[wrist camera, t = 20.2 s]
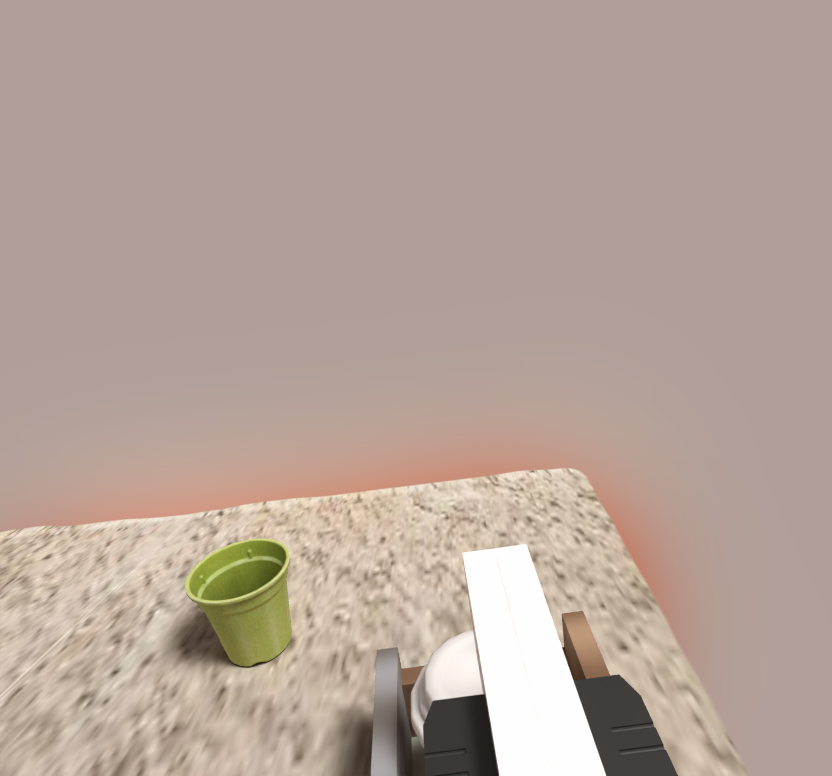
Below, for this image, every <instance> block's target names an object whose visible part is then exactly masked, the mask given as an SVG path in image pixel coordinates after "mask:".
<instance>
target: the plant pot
mask: <svg viewBox="0 0 832 776" xmlns="http://www.w3.org/2000/svg"><path fill="white" fill-rule="evenodd" d="M289 562H290V553H289V550H288V548H287V547H286V546H285V545H284V544H283V543H281V542H279V541H276V540H273V539H261V538H258V539H250V540H244V541H240V542H237V543H233V544H231V545H228V546H226V547H223V548H221V549H219V550H217V551H215V552H213V553H212V554H210V555H209V556H207V557H206V558H204V559H203V560H202V561H200V562H199V563H198V564H197V565H196V566H195V567H194V568H193V569H192V571H191V572H190V573H189V575H188V577H187V579H186V582H185V591H186V594H187V595H188V597H189V598H190V599H191V600H192V601H194V602H196V603H197V605H198V606H199V608H200V609H201V610H203V611H204V612H205V614H206V616H207V618H208V619H209V621H210V623H211V625H212V627H213V629H214V630H215V632H216V634H217V636H218V638H219V640H220V642H221V644H222V646H223V648H224V650H225V651H226V653H227V655H228V657H229V659H230V660H231V661H232V662H233V663H235V664H237V665H240V666H252V665H253V664H255V663H258V662H266V661H270V660H271V659H273V658H275V657H276V656H278V655H279V654H280V653H281V652H282V651H283V650H284V649H285V648H286V647H287V645H288V644H289V642H290V639H291V632H292V630H291V619H290V611H289V602H288V592H287V581H286V578H287V574H288V565H289Z"/></svg>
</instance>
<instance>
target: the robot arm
mask: <svg viewBox="0 0 832 776" xmlns="http://www.w3.org/2000/svg"><path fill="white" fill-rule="evenodd" d="M463 560H464V568H465V575H466V582H467V589H468V597H469V604H470V611H471V618H472V626H473V633H474V640H475V647H476V653H477V660H478V666H479V672H480V678H481V684H482V691H483V694H480V695H472V696H465V697H457V698H449V699H442V700H434V701H433V702H432V704H431V707H430V709H429V712H428V714H427V717H426V719H425V722H424V724H423V739H424V757H425V759H424V763H425V776H678V775H677V773H676V771H675V769H674V766H673V764H672V762H671V760H670V758H669V756H668V753H667V751H666V750H665V749H664V746H663V743H662V741H661V738H660V736H659V734H658V732H657V730H656V728H654V725H653V721H652V719H651V717H650V715H649V713H648V710H647V708H646V706H645V704H644V702H643V700H642V698H641V696H640V695H639V694H638V693H637V692H636V691H635V690H634V689H633V688H632V687H631V686H630V685H629V684H628V683H627V682H626V681H625V680H624V679H623V678H622V677H621V676H620V675H612V676H604V677H596V678H589V679H581V680H574V681H573V678H572V675H571V672H570V670H569V667H568V664H567V661H566V658H565V655H564V652H563V649H562V646H561V643H560V641H559V638H558V635H557V632H556V629H555V626H554V623H553V620H552V617H551V614H550V612H549V609H548V606H547V603H546V600H545V597H544V594H543V591H542V588H541V585H540V583H539V580H538V577H537V574H536V571H535V568H534V565H533V562H532V559H531V557H530V554H529V551H528V548H527V545H526V544H525V545H517V546H510V547H503V548H495V549H488V550H481V551H473V552H466V553H463Z"/></svg>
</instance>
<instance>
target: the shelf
mask: <svg viewBox="0 0 832 776" xmlns="http://www.w3.org/2000/svg"><path fill="white" fill-rule="evenodd" d="M562 622H563V635H564V647H562V649H563V652H564V655H565V658H566V661H567V664H568V667H569V670H570V672H571V675H572V678H573V681H574V680H581V679H589V678H596V677H604V676H610V674H609V672H608V669H607V667H606V665H605V662H604V660H603V657H602V655H601V653H600V650H599V648H598V646H597V643H596V641H595V639H594V636H593V634H592V631H591V629H590V627H589V624H588V622H587V620H586V617H585V615H584V613H583V611H579V612H571V613H564V614H562ZM423 667H424V666H419V667H412V668H404V669H402V668H401V663H400V658H399V653H398V648H397V647H396V648H389V649H381V650H377V658H376V678H375V698H374V718H373V738H372V758H371V776H425V763H424V759H425V757H424V748H423V746H422V744H421V742H420V740H419V738H418V737H417V735H416V733H415V731H414V729H413V726H412V721H411V692H412V689H413V687H414V685H415V683H416V681H417V679H418V676H419V674H420V672H421V670H422V668H423Z"/></svg>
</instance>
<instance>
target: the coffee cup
mask: <svg viewBox="0 0 832 776" xmlns="http://www.w3.org/2000/svg"><path fill="white" fill-rule="evenodd" d="M480 694H483V691H482V684H481V678H480V672H479V666H478V660H477V653H476V647H475V640H474V633H473V630H472V631H466V632H464V633H462V634H460V635H457V636H455V637H453V638H451V639H449V640H447V641H446V642H445V643H444V644H443V645H441V646H440V647H439V648H438V649H437V650H436V651H435V652H434V653H433V654H432V655H431V658H430V660H429V662H428V664H427V665H426V666H424V667H423V668H422V670H421V672H420V674H419V676H418V679H417V681H416V683H415V685H414V687H413V689H412V692H411V721H412V726H413V729H414V731H415V733H416V735H417V737H418V738H419V740H420V742H421V744H422V746H423V748H424V739H423V724H424V722H425V719H426V717H427V714H428V712H429V709H430V707H431V704H432V702H433V701H434V700H442V699H449V698H457V697H465V696H472V695H480Z"/></svg>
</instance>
